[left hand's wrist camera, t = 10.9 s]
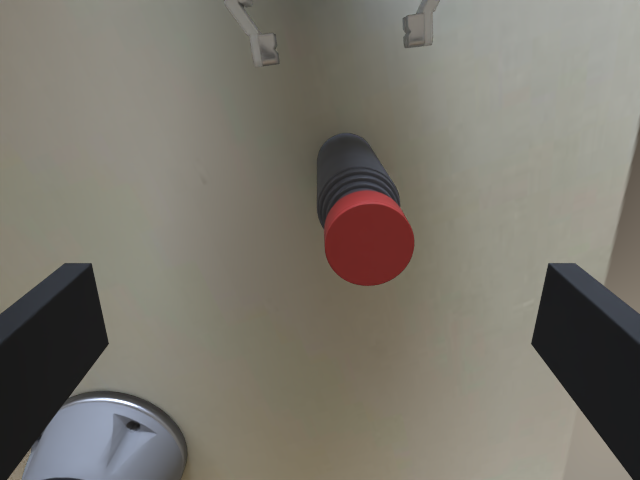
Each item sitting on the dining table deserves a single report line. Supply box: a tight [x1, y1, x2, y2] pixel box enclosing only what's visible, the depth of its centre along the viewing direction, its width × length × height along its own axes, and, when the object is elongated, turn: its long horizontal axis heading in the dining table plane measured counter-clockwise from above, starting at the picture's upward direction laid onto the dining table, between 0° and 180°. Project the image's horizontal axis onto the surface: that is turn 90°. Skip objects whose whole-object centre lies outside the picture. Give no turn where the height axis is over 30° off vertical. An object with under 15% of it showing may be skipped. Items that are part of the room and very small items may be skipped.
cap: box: [324, 190, 414, 286], centre depth 20 cm, size 4×4×2 cm
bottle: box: [317, 133, 400, 229], centre depth 28 cm, size 5×5×18 cm
